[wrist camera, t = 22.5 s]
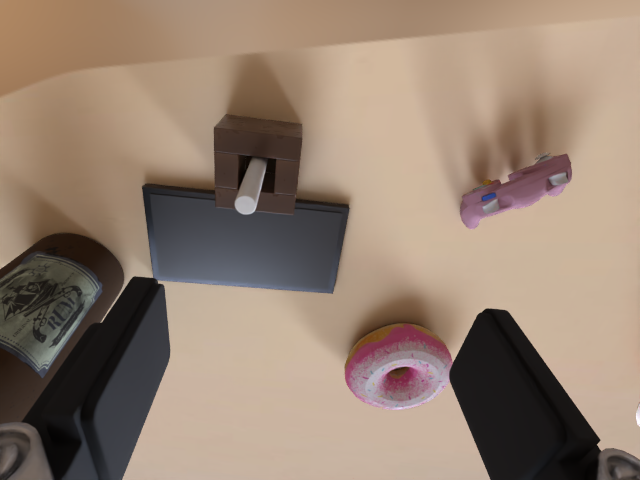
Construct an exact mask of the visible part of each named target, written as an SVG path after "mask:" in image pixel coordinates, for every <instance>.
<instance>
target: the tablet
mask: <svg viewBox="0 0 640 480" xmlns="http://www.w3.org/2000/svg"><path fill="white" fill-rule="evenodd" d="M142 190H143V198H144V206H145V214H146V222H147V230H148V238H149V246H150V254H151V262H152V270H153V278H155V279H157V280H161V281H174V282H187V283H200V284H213V285H226V286H240V287H253V288H266V289H279V290H292V291H305V292H318V293H332V294H333V291H334V286H335V281H336V276H337V270H338V265H339V260H340V255H341V250H342V245H343V239H344V234H345V229H346V224H347V219H348V214H349V205H347V204H338V203H328V202H318V201H309V200H299V199H296V201H295V210H294V215H287V214H277V213H267V212H257V211H254V212H253V213H251V214H242V213H240V212H238V211H237V209H227V208H217V207H215V191H213V190H203V189H193V188H184V187H174V186H165V185H155V184H145V185H144V186H142Z"/></svg>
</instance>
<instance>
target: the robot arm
mask: <svg viewBox="0 0 640 480" xmlns="http://www.w3.org/2000/svg"><path fill="white" fill-rule="evenodd" d="M169 358H170V342H169V331H168V321H167V310H166V299H165V289H164V285H163V284H158V281H157V279H155V278H146V277H133V278H132V279H131V280H130V282H129V283H128V285H127V286H126V288H125V289H124V291H123V292H122V294H121V295H120V297H119V298H118V300H117V301H116V303H115V304H114V305H113V307H112V308H111V310H110V311H109V313H108V314H107V316H106V317H105V319H104V320H103V322H102V323H93V324H91V325H90V326H89V327H88V328H87V330H86V331H85V332H84V334H83V335H82V337H81V338H80V339H79V341H78V342H77V344H76V345H75V347H74V348H73V349H72V351H71V352H70V354H69V355H68V356H67V358H66V359H65V361H64V362H63V364H62V365H61V366H60V368H59V369H58V371H57V372H56V373H55V375H54V376H53V378H52V379H51V381H50V382H49V383H48V385H47V386H46V388H45V389H44V390H43V392H42V393H41V395H40V396H39V397H38V399H37V400H36V402H35V403H34V405H33V406H32V407H31V409H30V410H29V412H28V413H27V414H26V416H25V417H24V419H23V420H22V422H11V423H4V424H0V480H122V478H123V476H124V473H125V471H126V468H127V466H128V463H129V461H130V458H131V456H132V453H133V450H134V448H135V445H136V443H137V440H138V438H139V435H140V433H141V430H142V428H143V425H144V423H145V420H146V418H147V415H148V413H149V410H150V408H151V405H152V402H153V400H154V397H155V395H156V392H157V390H158V387H159V385H160V382H161V380H162V377H163V375H164V372H165V370H166V367H167V365H168V362H169ZM449 379H450V383H451V385H452V387H453V390H454V392H455V395H456V397H457V399H458V402H459V404H460V407H461V409H462V412H463V414H464V416H465V419H466V421H467V424H468V426H469V429H470V431H471V433H472V436H473V438H474V441H475V443H476V445H477V448H478V450H479V453H480V455H481V458H482V460H483V462H484V465H485V467H486V470H487V472H488V474H489V477H490V479H491V480H640V460H639V459H638V458H636V457H635V456H633V455H631V454H629V453H627V452H625V451H622V450H618V449H614V448H609V449H605V450H603V451H602V452H601V450H600V449H599V447H598V446H597V444H598V443H599V442H600V439H599V437H598V436H597V435H596V433H595V432H594V430H593V429H592V428H591V426H590V425H589V423H588V422H587V421H586V419H585V418H584V416H583V415H582V414H581V412H580V411H579V409H578V408H577V407H576V405H575V404H574V403H573V401H572V400H571V398H570V397H569V396H568V394H567V393H566V391H565V390H564V389H563V387H562V386H561V384H560V383H559V382H558V380H557V379H556V377H555V376H554V375H553V373H552V372H551V370H550V369H549V368H548V366H547V365H546V363H545V362H544V361H543V359H542V358H541V356H540V355H539V354H538V352H537V351H536V349H535V348H534V347H533V345H532V344H531V343H530V341H529V340H528V338H527V337H526V336H525V334H524V333H523V331H522V330H521V329H520V327H519V326H518V324H517V323H516V322H515V320H514V319H513V317H512V316H511V315H510V313H509V312H508V311H506V310H499V309H485V310H484V311H483V312H482V313H479V314H478V315H477V317H476V319H475V321H474V323H473V325H472V327H471V329H470V331H469V333H468V335H467V337H466V339H465V341H464V343H463V345H462V347H461V349H460V351H459V353H458V355H457V356H456V358H455V360H454V362H453V364H452V366H451V368H450V371H449Z"/></svg>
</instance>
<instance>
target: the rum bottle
mask: <svg viewBox="0 0 640 480" xmlns="http://www.w3.org/2000/svg"><path fill="white" fill-rule="evenodd" d="M123 282H124V275H123V271H122V268H121V266H120V264H119V262H118V260H117V259H116V258H115V256H114V255H113V254H112V253H111V252H110V251H109V250H107V249H106V248H105V247H104V246H102V245H101V244H99V243H97V242H95V241H93V240H91V239H89V238H86V237H83V236H80V235H75V234H54V235H50V236H47V237H45V238H43V239H41V240H40V241H38V242H37V243H36V244H34V245H33V246H31V247H30V248H29V249H27V250H26V251H25V252H23V253H22V254H21V255H19V256H18V257H17V258H15V259H14V260H13V261H11V262H10V263H8V264H7V265H6V266H4V267H3V268H2V269H0V424H4V423H11V422H22V420H23V419H24V417H25V416H26V414H27V413H28V412H29V410H30V409H31V407H32V406H33V405H34V403H35V402H36V400H37V399H38V397H39V396H40V395H41V393H42V392H43V390H44V389H45V388H46V386H47V385H48V383H49V382H50V381H51V379H52V378H53V376H54V375H55V373H56V372H57V371H58V369H59V368H60V366H61V365H62V364H63V362H64V361H65V359H66V358H67V356H68V355H69V354H70V352H71V351H72V349H73V348H74V347H75V345H76V344H77V342H78V341H79V339H80V338H81V337H82V335H83V334H84V332H85V331H86V330H87V328H88V327H89V326H90V325H91V324H93V323H100V322H101V321H102V319H103V317H104V316H105V314H106V313H107V311H108V310H109V308H110V306H111V305H112V303H113V302H114V300H115V299H116V297H117V296H118V294H119V292H120V291H121V289H122V286H123Z"/></svg>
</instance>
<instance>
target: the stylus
mask: <svg viewBox="0 0 640 480" xmlns="http://www.w3.org/2000/svg"><path fill="white" fill-rule="evenodd" d="M268 159H269V158H266V157H257V156H252V159H251V161H250V164H249V166H248V169H247V171H246V174H245V177H244V179H243V182H242V184H241V187H240V189H239V192H238V195H237V197H236V200H235V208H236V209H237V211H238V212H240V213H242V214H251V213H253V212H254V211H255V209H256V206H257V202H258V198H259V194H260V191H261V187H262V183H263V179H264V175H265V171H266V167H267V163H268Z"/></svg>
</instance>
